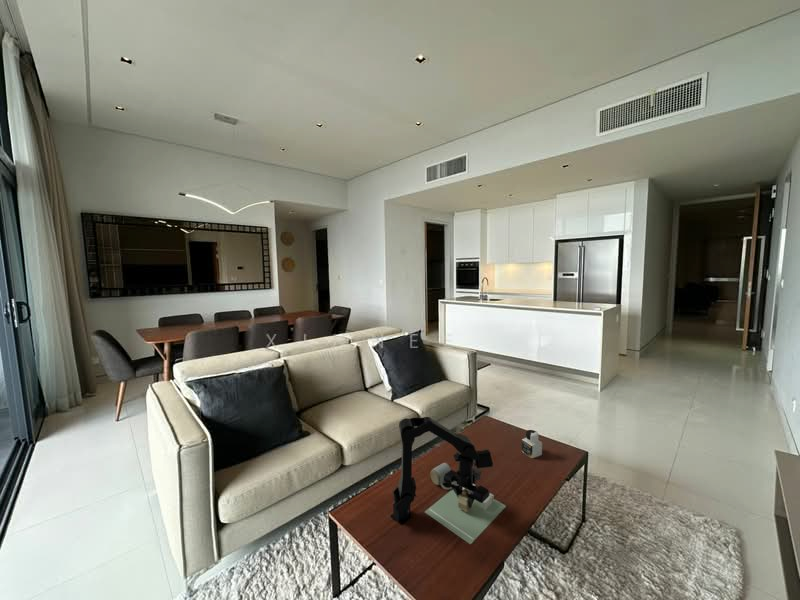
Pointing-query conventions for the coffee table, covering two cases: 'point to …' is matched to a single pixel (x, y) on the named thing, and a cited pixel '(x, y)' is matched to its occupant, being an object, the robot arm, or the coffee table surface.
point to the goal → (487, 501)
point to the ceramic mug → (440, 475)
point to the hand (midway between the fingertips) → (465, 504)
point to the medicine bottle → (531, 444)
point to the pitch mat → (464, 516)
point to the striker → (463, 501)
